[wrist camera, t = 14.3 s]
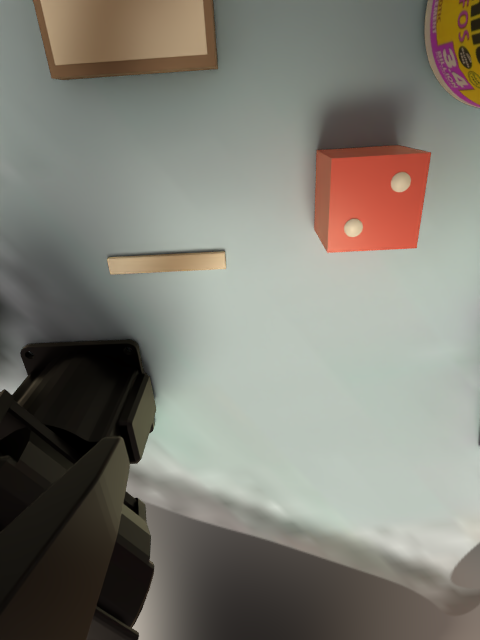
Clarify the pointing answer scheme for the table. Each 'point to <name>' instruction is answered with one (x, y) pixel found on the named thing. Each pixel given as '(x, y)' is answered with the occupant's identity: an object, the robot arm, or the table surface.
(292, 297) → the table surface
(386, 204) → the red die
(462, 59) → the supplement bottle
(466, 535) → the table surface
